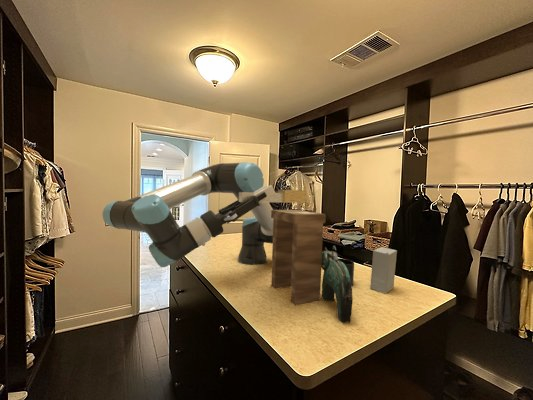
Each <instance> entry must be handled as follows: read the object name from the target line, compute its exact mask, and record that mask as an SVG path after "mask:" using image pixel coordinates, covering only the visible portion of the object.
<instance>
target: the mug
mask: <svg viewBox="0 0 533 400" xmlns="http://www.w3.org/2000/svg"><path fill="white" fill-rule="evenodd" d="M338 260H340V261H341V262H343V263H344V264H345V266H346V267H347V269H348V270H349V275H350V279H351V284H352V286H353V285H354V278H355V276H354V274H355V273H354V272H355V262H354V261H353V260H351V259H346V258H339V257H338Z"/></svg>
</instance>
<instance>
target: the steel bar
mask: <svg viewBox="0 0 533 400" xmlns="http://www.w3.org/2000/svg"><path fill="white" fill-rule="evenodd" d="M257 193H258V192H239V202H244V201H246V200H248V199H250V198H252V197H253V196H254V195H255V194H257ZM261 202H269V203H293V204H294V203H295V204H298V203H299V204H300V203H301V204H303V203H304V204H305V203H307V190H305V189H304V190H302V189H301V190H300V189H299V190H298V189H297V190H296V189H294V190H293V189H277V192H275V193H274V194H273V195H271V196H269V197H268V198H266V199H264V200H263V201H261Z"/></svg>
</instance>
